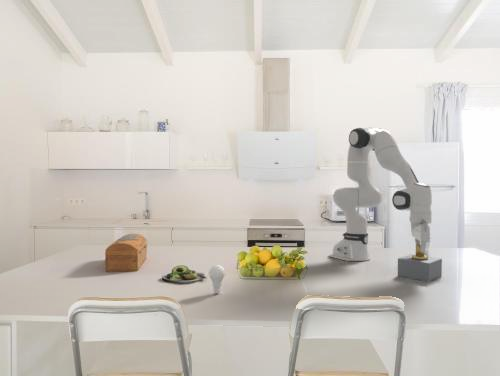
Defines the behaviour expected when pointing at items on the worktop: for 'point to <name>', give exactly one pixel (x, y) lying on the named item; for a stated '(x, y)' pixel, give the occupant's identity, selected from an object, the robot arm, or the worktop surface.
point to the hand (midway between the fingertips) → (420, 249)
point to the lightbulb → (216, 277)
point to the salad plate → (183, 275)
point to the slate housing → (419, 268)
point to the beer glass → (427, 248)
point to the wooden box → (126, 253)
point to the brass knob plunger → (419, 254)
